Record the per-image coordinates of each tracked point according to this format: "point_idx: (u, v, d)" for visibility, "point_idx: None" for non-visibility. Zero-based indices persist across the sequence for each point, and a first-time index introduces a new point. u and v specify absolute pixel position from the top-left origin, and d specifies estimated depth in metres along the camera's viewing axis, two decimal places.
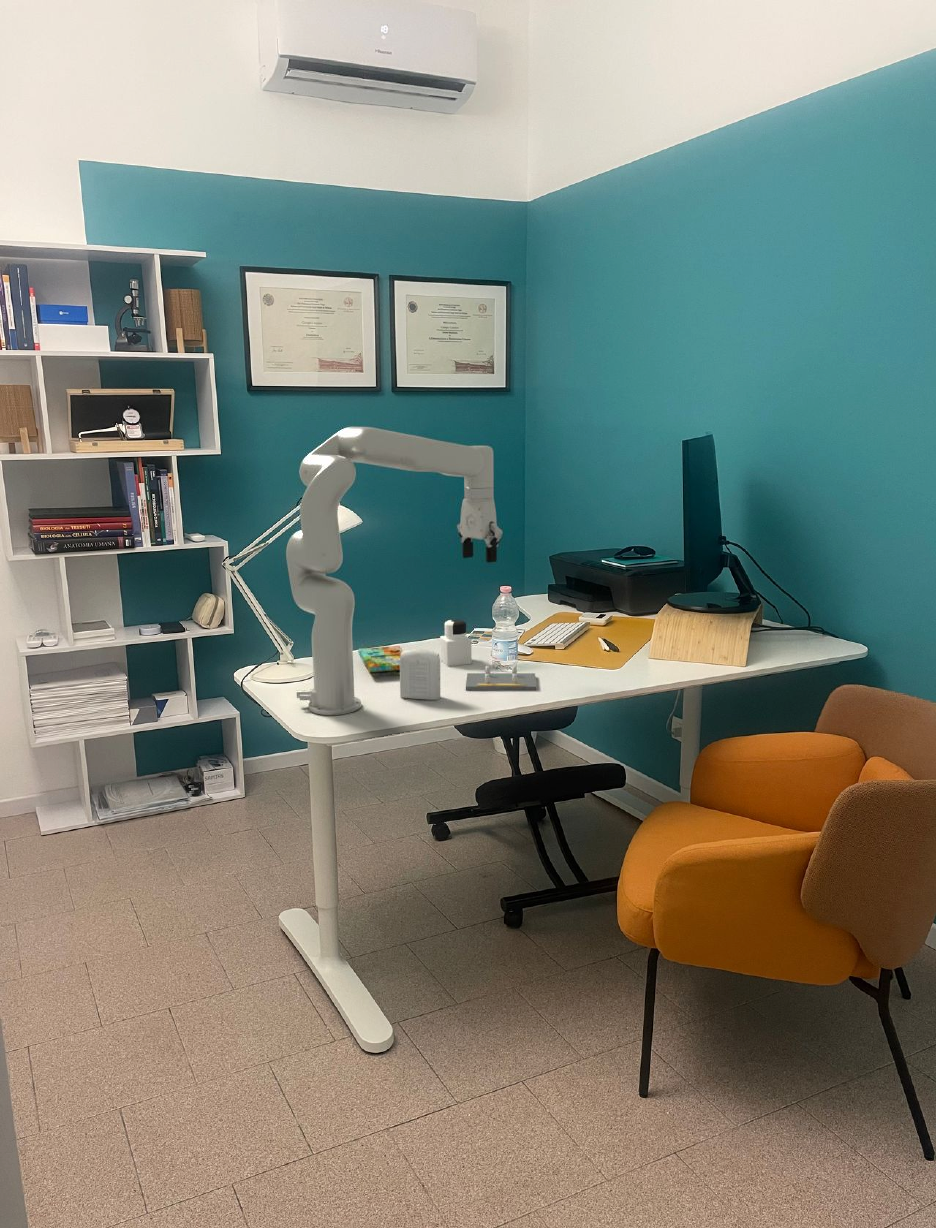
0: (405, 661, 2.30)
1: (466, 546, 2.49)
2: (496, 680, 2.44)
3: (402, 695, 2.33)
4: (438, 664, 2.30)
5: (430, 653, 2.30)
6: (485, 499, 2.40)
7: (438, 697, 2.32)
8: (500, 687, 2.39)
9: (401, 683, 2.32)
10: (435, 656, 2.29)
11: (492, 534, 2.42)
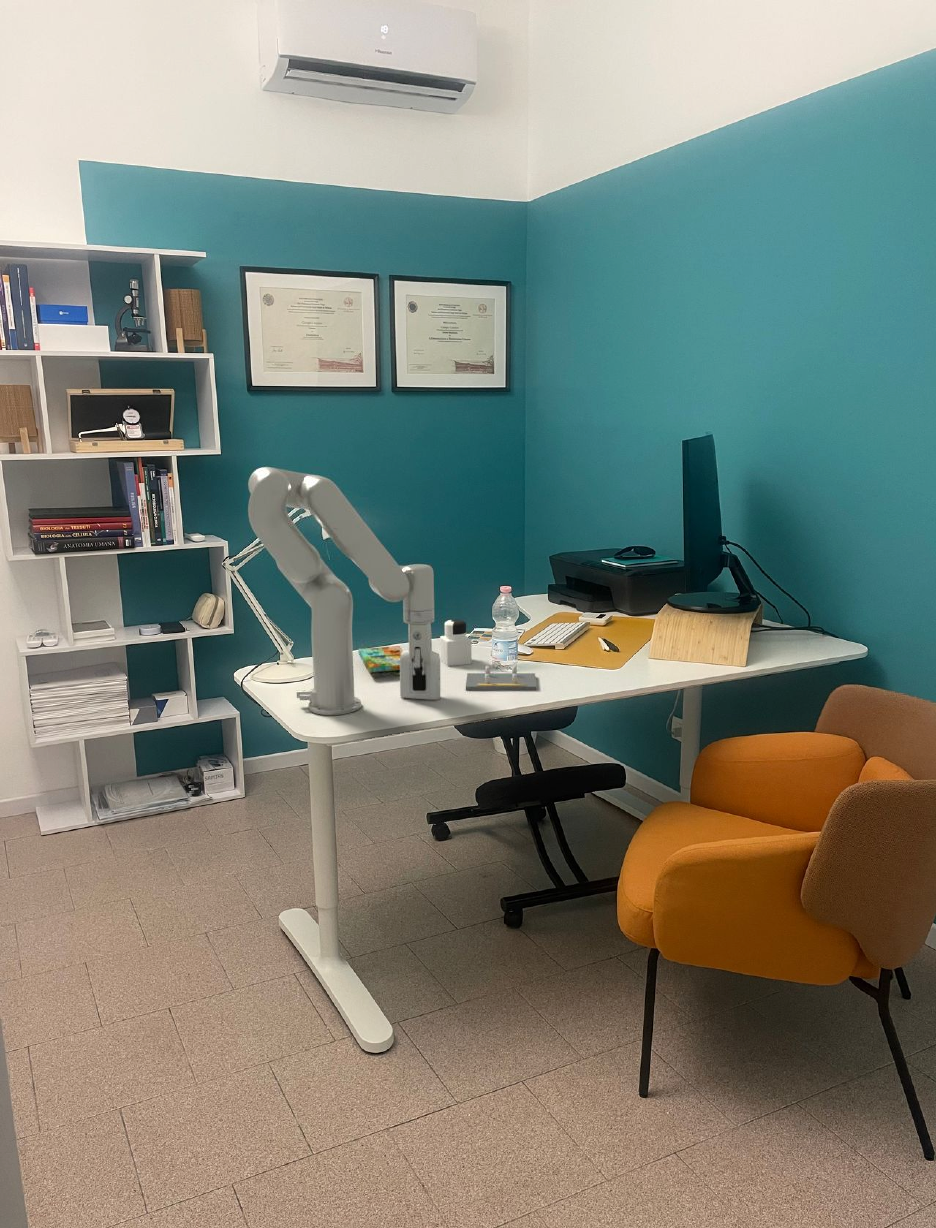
0: (405, 661, 2.30)
1: None
2: (496, 680, 2.44)
3: (402, 695, 2.33)
4: (438, 664, 2.30)
5: None
6: None
7: (438, 697, 2.32)
8: (500, 687, 2.39)
9: (401, 683, 2.32)
10: (435, 656, 2.29)
11: None
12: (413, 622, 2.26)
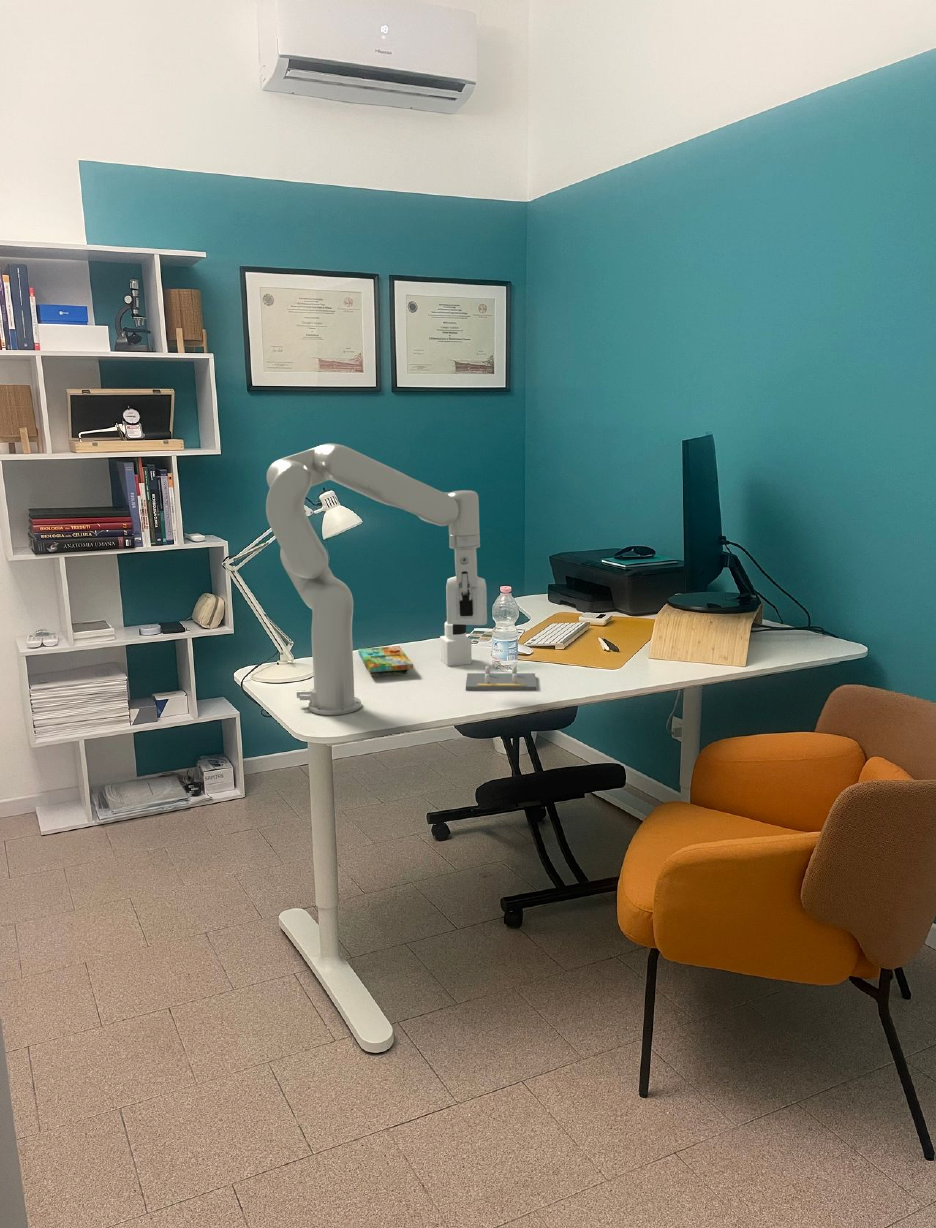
0: (452, 587, 2.33)
1: None
2: (496, 680, 2.44)
3: (449, 621, 2.35)
4: (485, 589, 2.32)
5: None
6: None
7: (485, 622, 2.34)
8: (500, 687, 2.39)
9: (448, 609, 2.34)
10: (481, 581, 2.32)
11: None
12: (460, 547, 2.28)
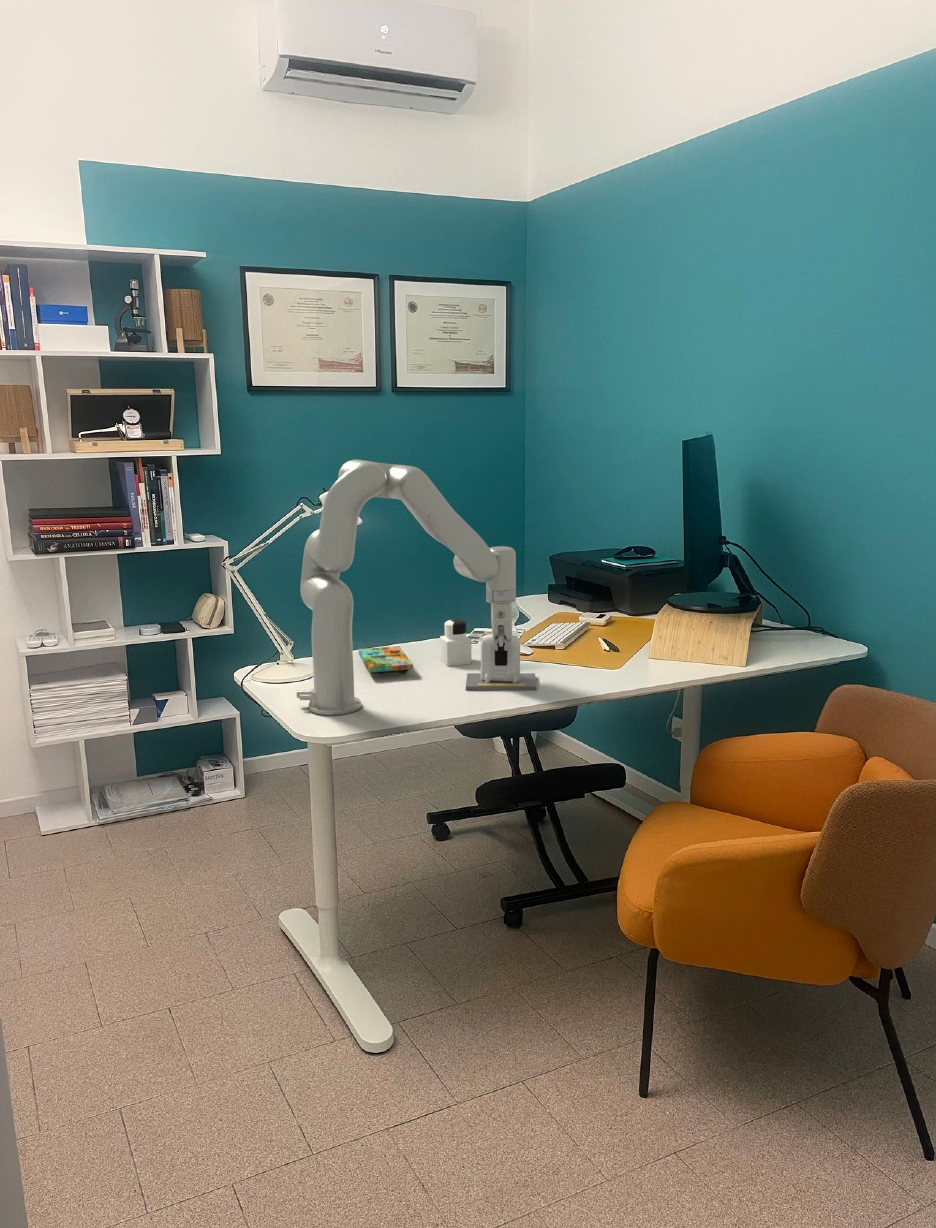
0: (487, 645, 2.41)
1: None
2: None
3: (483, 677, 2.43)
4: (519, 647, 2.41)
5: None
6: None
7: (518, 679, 2.43)
8: (500, 687, 2.39)
9: (482, 666, 2.42)
10: (516, 640, 2.40)
11: None
12: (497, 601, 2.36)
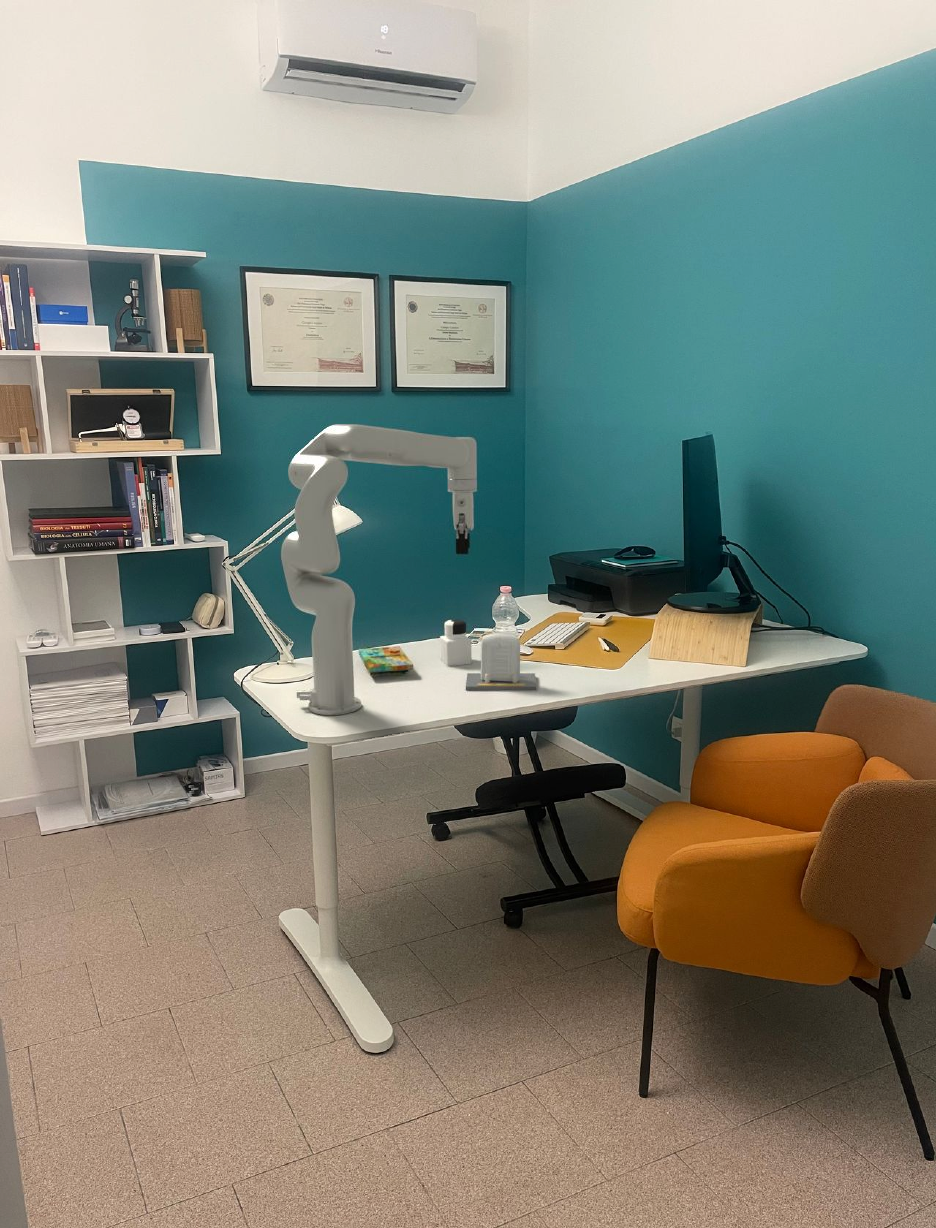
0: (487, 644, 2.41)
1: None
2: None
3: (483, 677, 2.43)
4: (519, 647, 2.41)
5: (511, 637, 2.40)
6: None
7: (518, 679, 2.43)
8: (500, 687, 2.39)
9: (483, 666, 2.42)
10: (516, 640, 2.40)
11: None
12: (457, 490, 2.40)
